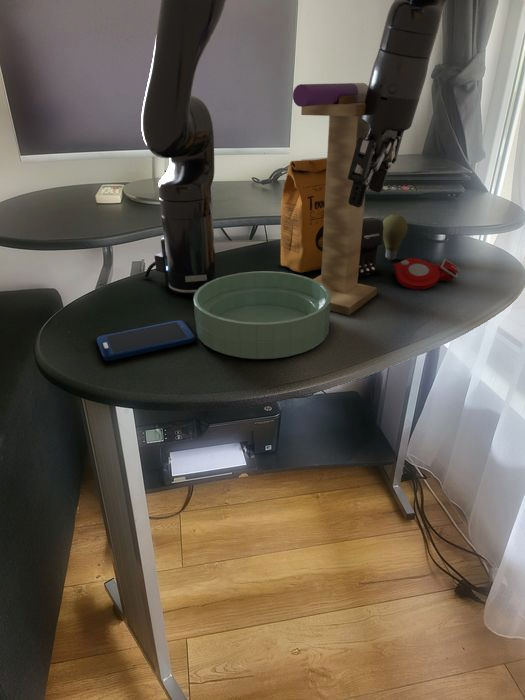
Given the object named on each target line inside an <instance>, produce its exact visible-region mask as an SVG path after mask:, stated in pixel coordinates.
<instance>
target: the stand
mask: <svg viewBox="0 0 525 700" xmlns="http://www.w3.org/2000/svg"><path fill="white" fill-rule="evenodd" d="M365 98H366V95H356V96H339V102H338V104H328V105H316V106H303V107H300V108H301V110H300V112H301V113H300V115H301V116H323V117H324V116H325V117H328V133H327V152H326V153H327V155H326V158H327V172H326V192H325V213H324V233H323V254H322V270H321V274H320V275H318V276H316V277H315V278H312V279H313V280H316V281H317V282H319V283H321V284H323V285H324V286H325V287H326V288H327V289H328V290H329V292H330V294H331V307H330V312H335V313H338V314H342V315H346V316H350V315H351V314H353V313H354V312H355V311H356V310H358V309H359V308H361V307H362V306H363V305H365V304H366V303H368V302H369V301H370V300H371V299H373V298H374V297H375V296H377V289H378V287H376V286H372V285H366V284H363V283H358V281H359V277H358V271H359V260H360V248H361V237H362V226H363V217H364V213H365V203H366V197H365V198H364V201H363V205H362V206H361V207H355V206H352V205H350V204H349V202H348V201H349V197H350V193H351V189H352V185H353V181H352V180H349V179H348V174H349V171H350V167H351V163H352V159H353V156H354V152H355V148H356V144H357V140H358V139H359V138H363V139H365V137H366V136H367V135H368V132H369V130H370V126H369V125H368V124H367V123H365V122H364V121H363V120H362V118H361V116H363V115H365V109H366V104H365V103H364V102H365ZM364 157H365V156H364ZM356 167H357V166H356ZM362 171H363V168H362V169H361V171H360V173H359V174H362Z"/></svg>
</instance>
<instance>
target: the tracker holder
mask: <svg viewBox="0 0 525 700" xmlns="http://www.w3.org/2000/svg"><path fill="white" fill-rule="evenodd" d="M393 266H394V275H395V278H396V280H397V282H398V283H399V284H400V285H401V286H403V287H405V288H408V289H409V290H410V289H411V290H426V289H429V288H431V287H434V286H435V285H436V284H437V282H438V281H443V282H444V281H451V280H454V279H458V276H459V274H460V272H461V271H460V270H461V268H460V267H458V266H457V265H455V264H454V263H453V262H451V261H449V260H448V259H447V258H443V259H442V262H440V263H439V264H434V263H432V262H429V261H427V260H423V259H419V258H416V257H415V258H414V257H408V258H406V259H403V260H401V261H399V262H397V263H394V264H393Z"/></svg>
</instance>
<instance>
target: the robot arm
mask: <svg viewBox="0 0 525 700" xmlns="http://www.w3.org/2000/svg"><path fill="white" fill-rule="evenodd" d="M227 1H228V0H160V5H159V13H158V20H157V26H156V27H157V29H156V34H155V35H156V36H155V42H154V49H153V57H152V62H151V67H150V72H149V77H148V81H147V86H146V90H145V96H144V99H143V105H142V111H141V125H140V126H141V132H142V133H141V134H142V137H143V141H144V143H145V145H146V147H147V148H148V150H149V151H150V152H151V153H152V154H153V155H154V156H156V157H157V158H160V159H169V165H168V167H167V170H166V171H165V174H163V176H162V177H161V178H160V179H159V181H158V186H157V189H158V197H159V198H158V199H159V206H160V214H161V223H162V224H161V225H162V232H163V237H162V238H161V239H160V247H161V252H159V253H156V254H154V261H153V262H152V263H151V264H149V266H148V267H147V269H146V271H145V273H144V277H145V278H148V277H149V276H150V273H151V271H152V270H153V268H154V267H155V271H156V272H159V273H163V274H164V281H165V287H166V288H168V289H169V291H170V292H171V293H173V294H176V295H180V296H194V295H195V293H196V291H197V290H198V289H199V288H200V287H201V286H203V285H204V284H206V283H208V282H210V281H212V280H214V279H217V263H216V248H215V247H216V246H215V234H214V233H215V231H214V230H215V229H214V215H213V201H212V185H213V182H214V179H215V134H214V133H215V132H214V131H215V130H214V123H213V119H212V116H211V115H212V114H211V112H210V110H209V108H208V106H207V104H205V102H204V101H203V100H202V99H201V98H199V97H197V96H195V95H192V93H193V92H192V91H193V86H194V80H195V76H196V71H197V68H198V65H199V63H200V60H201V58H202V57H203V54H204V52H205V50H206V48H207V47H208V45H209V43H210V41H211V39H212V37H213V35H214V34H215V32H216V30H217V27H218V26H219V23H220V22H221V19H222V16H223V15H224V11H225V9H226V4H227ZM447 2H448V0H394V1H392V4H391V5H390V8H389V10H388V12H387V16H386V20H385V23H384V27H383V32H382V35H381V39H380V43H379V48H378V51H377V54H376V57H375V60H374V63H373V66H372V70H371V74H370V77H369V81H368V90H367V94H366V98H365V102H364V103H365V104H366V109H365V115H363V116H361V118H362V120H363V121H364V122H365V123H367V124H368V125H369V126H370V130H369V132H368V135H367V136H366V137H365V139H363V138H359V139H358V140H357V144H356V148H355V152H354V156H353V159H352V163H351V167H350V171H349V174H348V179H349V180H352V181H353V185H352V189H351V193H350V197H349V201H348V202H349V204H350V205H352V206H355V207H361V206H362V205H363V201H364V198H365V199H366V194H367V190H368V189H369V190H370V191H373V192H375V193H381V192H382V191H383V189H384V186H385V183H386V179H387V175H388V172H389V171H390V169H391V168H392V167H393V166H392V164H393V165H394V164H395V163H396V161H397V159H398V155H399V152H400V151H399V150H400V147H401V143H402V141H403V136H404V134H405V131H407V130H410V129H411V128H412V125H413V121H414V118H415V115H416V112H417V108H418V105H419V103H420V99H421V95H422V92H423V89H424V85H425V82H426V79H427V75H428V71H429V63H430V60H431V56H432V52H433V49H434V46H435V43H436V40H437V35H438V32H439V29H440V25H441V20H442V17H443V12H444V10H445V6H446V4H447ZM364 156H365V157H364ZM356 166H357V167H356ZM362 168H363V171H362V174H359V173H360V171H361V169H362Z"/></svg>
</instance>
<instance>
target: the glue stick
mask: <svg viewBox="0 0 525 700" xmlns="http://www.w3.org/2000/svg"><path fill="white" fill-rule="evenodd" d="M368 86H369V84H367V83H365V82H348V83H347V82H346V83H344V82H343V83H304V84H303V83H301V84H300V83H299V84H298V85H296V86H295V87H294V89H293V91H292V100H293V103H294V104H295V106H297V107H300V108H301V107H303V106H316V105H328V104H338V102H339V96H356V95H366V94H367V90H368Z"/></svg>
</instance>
